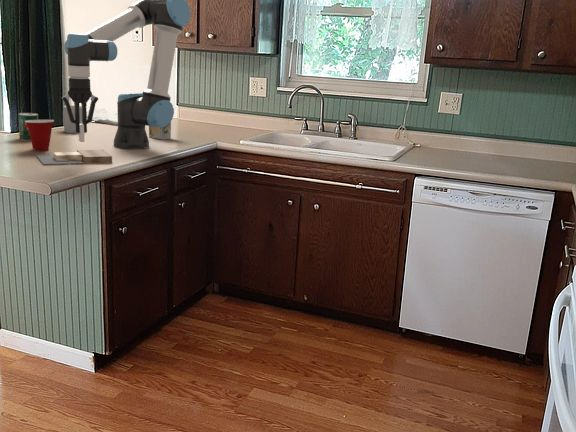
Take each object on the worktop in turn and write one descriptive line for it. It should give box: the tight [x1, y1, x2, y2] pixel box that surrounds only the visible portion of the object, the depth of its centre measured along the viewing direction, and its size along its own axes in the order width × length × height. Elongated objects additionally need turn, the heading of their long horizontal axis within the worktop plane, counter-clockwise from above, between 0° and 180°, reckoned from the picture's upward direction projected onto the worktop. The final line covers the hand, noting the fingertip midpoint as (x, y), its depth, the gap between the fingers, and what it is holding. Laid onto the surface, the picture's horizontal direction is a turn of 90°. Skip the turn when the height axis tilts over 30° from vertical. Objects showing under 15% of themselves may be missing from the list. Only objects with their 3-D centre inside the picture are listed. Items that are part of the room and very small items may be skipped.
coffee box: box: [148, 121, 172, 140], centre depth 291 cm, size 9×6×16 cm
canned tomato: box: [17, 112, 39, 142], centre depth 261 cm, size 8×8×11 cm
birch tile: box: [53, 151, 82, 161], centre depth 226 cm, size 9×6×2 cm, turn 120°
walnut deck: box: [76, 149, 113, 165], centre depth 231 cm, size 10×14×2 cm
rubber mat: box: [36, 154, 85, 166], centre depth 225 cm, size 14×16×1 cm
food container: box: [86, 106, 118, 126], centre depth 327 cm, size 12×30×6 cm, turn 61°
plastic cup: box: [25, 119, 55, 152], centre depth 241 cm, size 11×11×12 cm
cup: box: [63, 104, 83, 134], centre depth 291 cm, size 9×9×12 cm
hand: (81, 141), depth 227 cm, fingers closed
